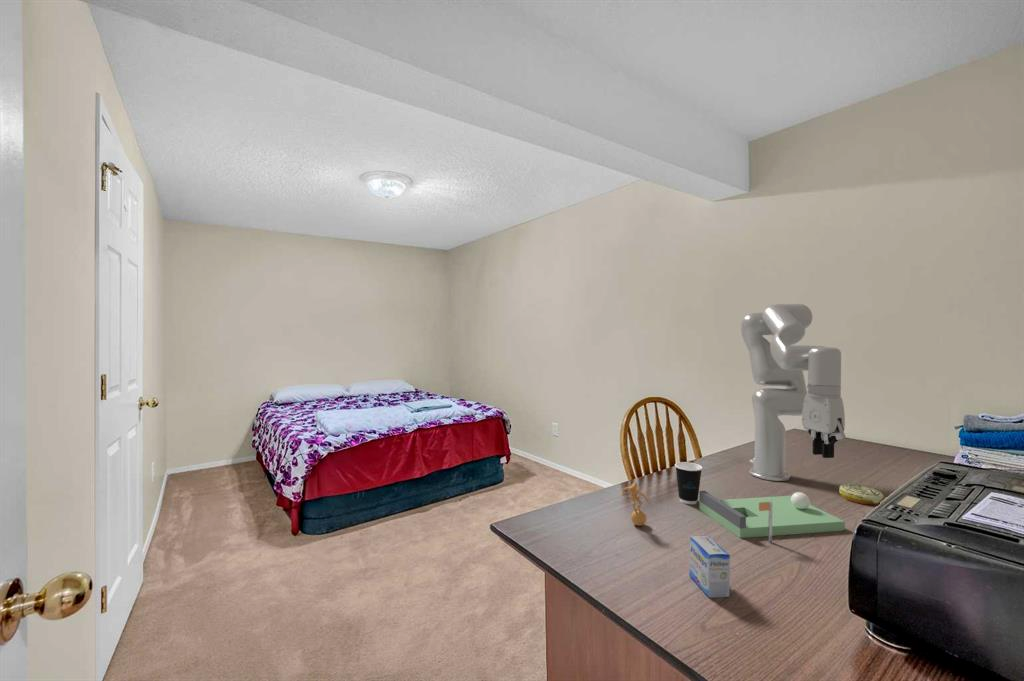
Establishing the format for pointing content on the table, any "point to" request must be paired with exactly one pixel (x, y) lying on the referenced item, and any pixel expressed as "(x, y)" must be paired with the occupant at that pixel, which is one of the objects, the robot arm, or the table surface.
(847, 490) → the decorated donut
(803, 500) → the ball
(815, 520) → the mat
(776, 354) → the robot arm
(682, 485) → the dixie cup
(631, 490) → the figurine
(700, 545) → the medicine box
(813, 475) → the table surface
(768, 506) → the flag pin
